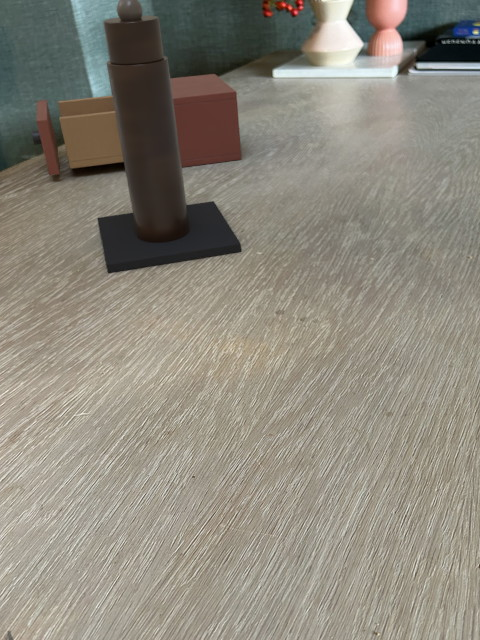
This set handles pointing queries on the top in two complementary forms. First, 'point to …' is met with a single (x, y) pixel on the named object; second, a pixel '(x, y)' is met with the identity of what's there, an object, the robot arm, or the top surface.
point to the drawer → (80, 133)
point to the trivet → (201, 241)
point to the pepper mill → (146, 123)
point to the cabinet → (206, 120)
